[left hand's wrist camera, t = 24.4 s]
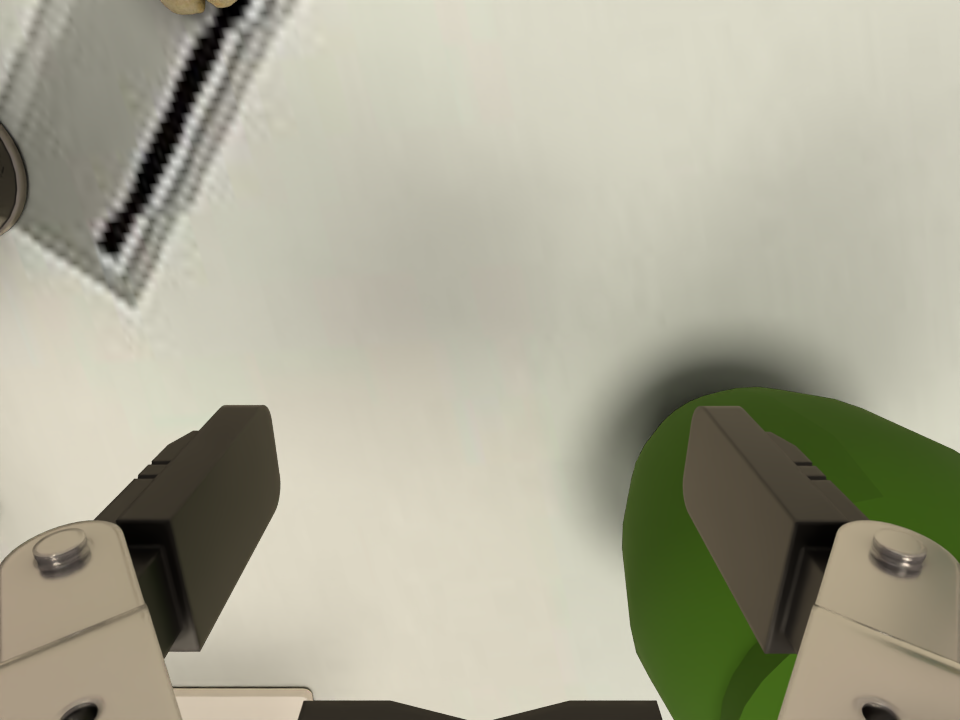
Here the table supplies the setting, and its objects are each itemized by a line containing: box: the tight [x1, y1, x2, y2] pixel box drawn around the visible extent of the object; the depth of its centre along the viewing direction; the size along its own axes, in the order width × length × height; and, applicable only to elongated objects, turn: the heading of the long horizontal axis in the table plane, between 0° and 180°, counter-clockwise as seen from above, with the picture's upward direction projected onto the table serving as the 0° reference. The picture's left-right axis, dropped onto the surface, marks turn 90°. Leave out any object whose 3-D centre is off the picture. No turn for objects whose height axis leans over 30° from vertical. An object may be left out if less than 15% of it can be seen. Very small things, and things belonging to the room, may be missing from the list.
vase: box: [622, 387, 960, 720], centre depth 33 cm, size 20×20×24 cm
